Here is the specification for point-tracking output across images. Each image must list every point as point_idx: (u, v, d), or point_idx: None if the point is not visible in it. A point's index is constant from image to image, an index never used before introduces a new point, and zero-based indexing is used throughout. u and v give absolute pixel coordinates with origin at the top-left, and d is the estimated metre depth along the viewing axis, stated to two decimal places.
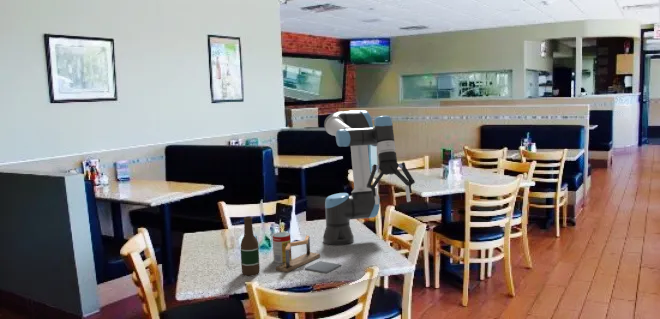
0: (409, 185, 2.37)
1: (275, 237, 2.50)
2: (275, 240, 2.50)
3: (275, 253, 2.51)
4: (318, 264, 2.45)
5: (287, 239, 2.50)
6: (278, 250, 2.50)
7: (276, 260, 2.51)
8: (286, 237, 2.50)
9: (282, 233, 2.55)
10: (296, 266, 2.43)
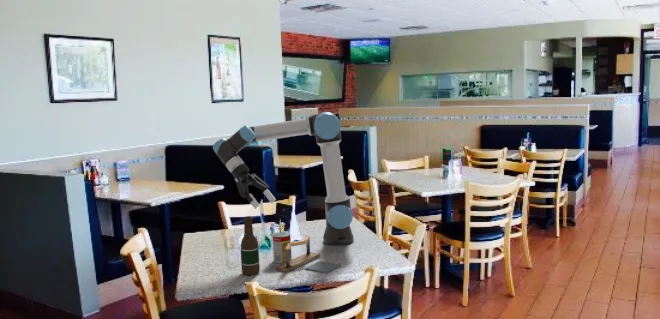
0: (246, 196, 2.49)
1: (275, 237, 2.50)
2: (275, 240, 2.50)
3: (275, 253, 2.51)
4: (318, 264, 2.45)
5: (287, 239, 2.50)
6: (278, 250, 2.50)
7: (276, 260, 2.51)
8: (286, 237, 2.50)
9: (282, 233, 2.55)
10: (296, 266, 2.43)
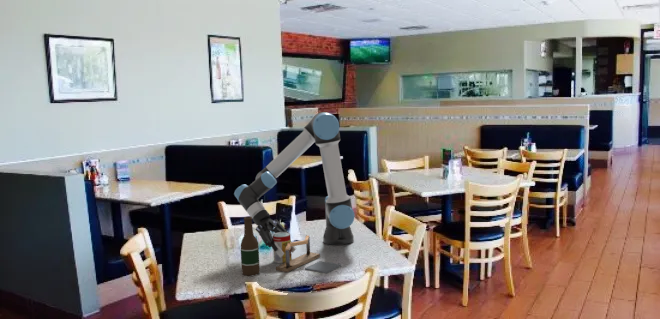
0: None
1: (275, 237, 2.50)
2: (275, 240, 2.50)
3: (275, 253, 2.51)
4: (318, 264, 2.45)
5: (287, 239, 2.50)
6: None
7: (276, 260, 2.51)
8: (286, 237, 2.50)
9: (282, 233, 2.55)
10: (296, 266, 2.43)
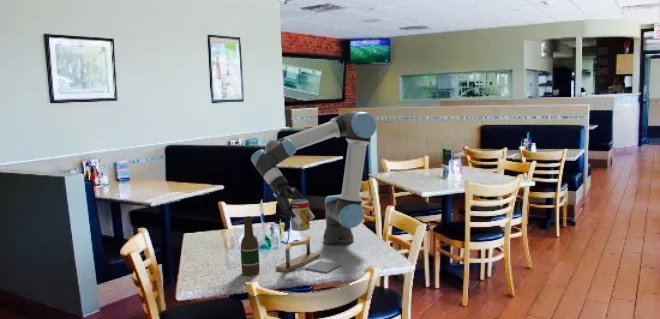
0: (289, 212, 2.40)
1: (293, 204, 2.39)
2: (293, 207, 2.40)
3: (293, 220, 2.41)
4: (318, 264, 2.45)
5: (305, 206, 2.40)
6: None
7: (294, 228, 2.41)
8: (304, 204, 2.39)
9: (300, 200, 2.44)
10: (296, 266, 2.43)
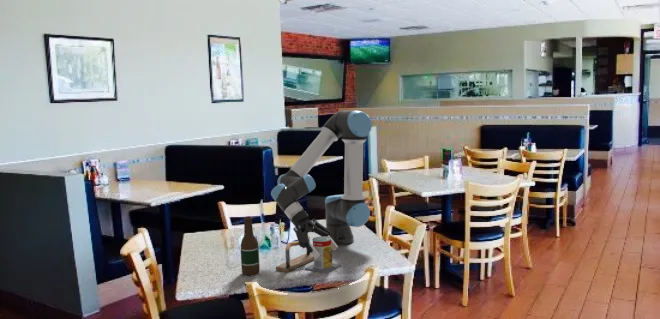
0: (306, 246, 2.36)
1: (316, 242, 2.38)
2: (316, 245, 2.38)
3: None
4: None
5: (328, 244, 2.38)
6: None
7: (317, 266, 2.39)
8: (327, 242, 2.38)
9: (322, 237, 2.43)
10: (296, 266, 2.43)
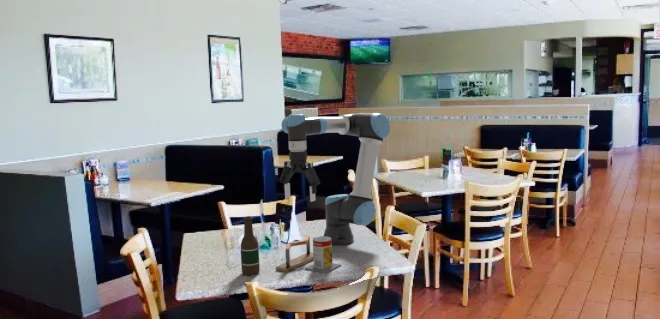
0: (313, 186, 2.39)
1: (316, 242, 2.38)
2: (316, 245, 2.38)
3: (316, 258, 2.39)
4: None
5: (328, 244, 2.38)
6: (319, 255, 2.38)
7: (317, 266, 2.39)
8: (327, 242, 2.38)
9: (322, 237, 2.43)
10: (296, 266, 2.43)
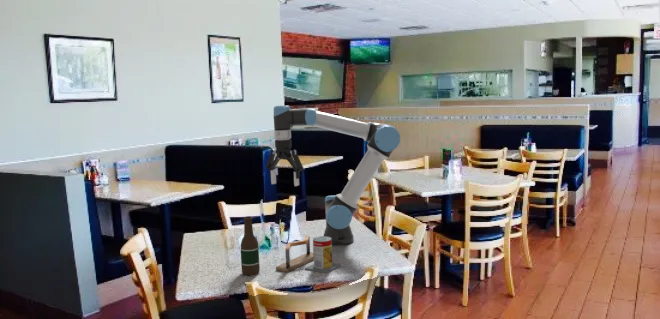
0: (296, 171, 2.59)
1: (316, 242, 2.38)
2: (316, 245, 2.38)
3: (316, 258, 2.39)
4: None
5: (328, 244, 2.38)
6: (319, 255, 2.38)
7: (317, 266, 2.39)
8: (327, 242, 2.38)
9: (323, 237, 2.43)
10: (296, 266, 2.43)
